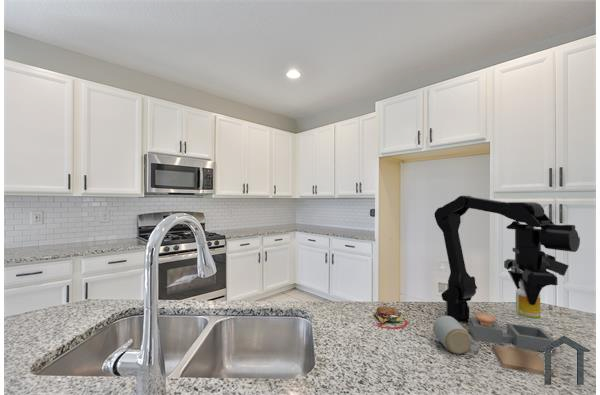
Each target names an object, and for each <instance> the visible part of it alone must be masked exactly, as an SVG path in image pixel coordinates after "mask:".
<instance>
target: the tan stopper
mask: <svg viewBox="0 0 600 395" xmlns="http://www.w3.org/2000/svg"><path fill="white" fill-rule="evenodd" d="M474 318H476V319H478V323H479V324H480V325H484V326H491V327H492V323H494V322H497V320H496V319H497V318H496V316H495V315H493V314H490V313H487V312H483V311H482V312H478V311H477V312H475V314H474Z"/></svg>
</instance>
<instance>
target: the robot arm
mask: <svg viewBox="0 0 600 395" xmlns="http://www.w3.org/2000/svg"><path fill="white" fill-rule="evenodd" d="M470 209H472V210H478V211H483V212H489V213H493V214H498V215H501V216H504V217H505V218H507V219H509V220H513V221H512V222H511V223H510V224H509V225H507V226H506V229H507V230H514V247H512V252H514V259H512V258H507V259H506V260H504V263H503V267H504V269H506V270H507V273H508V274H509V276H510V277H511V280H512V283H513V284H514V285H515V289H516V290H517V289H519V288H520V287H519V281H521V284H522V286H523V289H524V291H525V294H526V296H527V299H528V301H529V304H531V305H535V303H536V301H537V298H538V296H539V294H540V293H541V292H542V290H543V288H544V287H547V286H558V282H559V281H558V277H557V276H556V275H555V274H554V273H556V274H558V275H560V276H563V277H565V275H566V274H567V272H568V271H567V270H568V268H569V266H570V265H568V264H566V263H563V262H561V261H557V260H556V257H555V256H553V255H551V254H548V253H546V252H544V250H542V248H541V247H542V246H543V247H544V248H545V249H547V250H556V251H562V252H569V253H570V252H572V253H576V252H577V251H578V250H579V247H580V244H581V239H580V236H579V234H578V231H577V230H576V225H575V224H555V223H554V221H552V220H551V219H550V218H549V216H548V215H546V213H545V210H544V207H543V206H542V205H541V204H540V203H538V202H534V201H533V202H531V201H530V202H529V201H528V202H525V201H523V202H522V201H518V202H517V201H507V202H506V201H501V200H494V199H488V198H487V199H486V198H481V197H475V196H471V195H459V196H458V197H456V198H455V199H454V200H452V201H450V202H448V203H446V204H444V205H443V206H440V207H437V209H436V210H435V211H434V216H433V217H434V219H435V222H436V225H437V227H438V228H439V229H440V231H441V232H442V236H443V239H444V244H445V248H446V249H445V250H446V255H447V259H448V264H449V265H448V266H449V270H450V274H449V276H448V279H447V289H445V291H443V292H442V293H441V295H440V296H441V298H442V301H445V306H446V307H445V312H444V313H445V316H451V317H453V318H454V319H455V320H457V322H458V323H460V322H461V323H467V324H468V323H469V324H470V306H469V305H468V302H471V300H472V298H473V297H474V296H475V295H476V293H477V290H478V287H477V284H476V278H475V276H470V274H469V273H468V272H467V268H466V263H465V258H464V253H463V248H462V243H461V239H460V232H459V228H460V226H461V223H462V222H461V217H462V216H464V215H465V214H466V213H467V212H468V210H470ZM548 270H549V271H548ZM552 272H553V273H552ZM540 295H541V294H540Z"/></svg>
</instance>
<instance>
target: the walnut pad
mask: <svg viewBox="0 0 600 395" xmlns="http://www.w3.org/2000/svg"><path fill="white" fill-rule="evenodd" d="M491 349H492V351H493V352H494V354H495V356H496V357H497V360H498V361H499V363H500V365H501V367H502V368H505V369H509V370H516V371H520V372H526V373H531V374H537V375H541V374H542V376H545V375H544V362H545V361H544V359H543V358H542V357H541V356H540V355H539V354H538V351H533V350H527V349H521V348H517V347H510V346H504V345H500V344H498V345H497V344H494V343H492V344H491ZM550 377H552V378H554V377H555V372H554V371H553V370H552V369H551V376H550Z"/></svg>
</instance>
